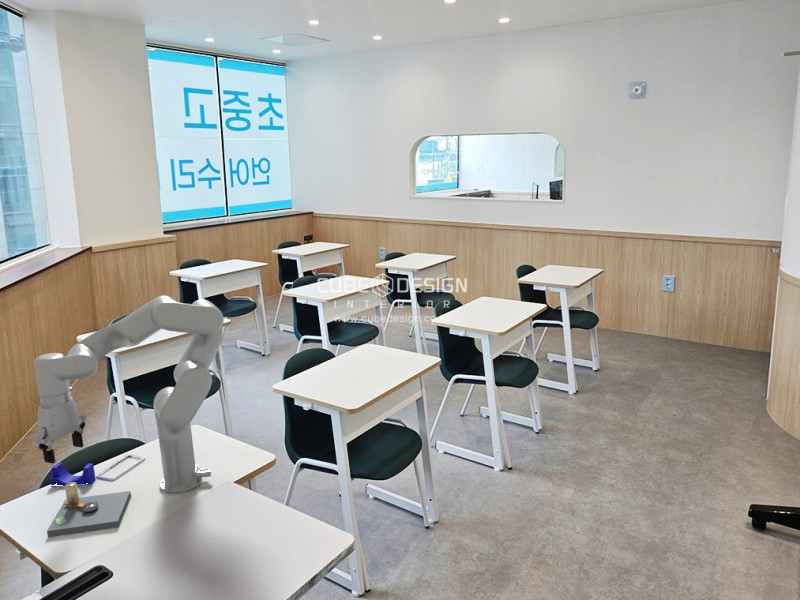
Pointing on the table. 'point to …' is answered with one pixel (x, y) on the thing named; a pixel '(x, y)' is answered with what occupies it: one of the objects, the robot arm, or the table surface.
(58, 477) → the blue cradle holder
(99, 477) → the grey rectangular frame
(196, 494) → the table surface
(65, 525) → the dial panel
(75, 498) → the dial lever
